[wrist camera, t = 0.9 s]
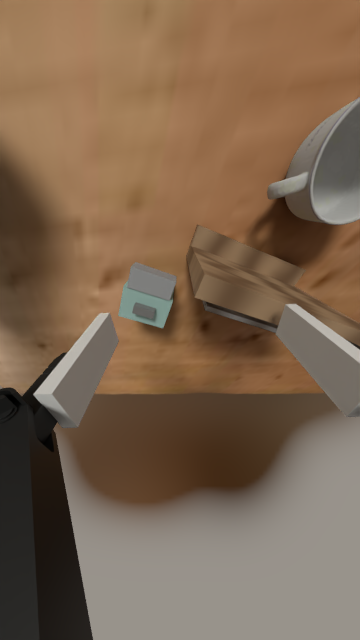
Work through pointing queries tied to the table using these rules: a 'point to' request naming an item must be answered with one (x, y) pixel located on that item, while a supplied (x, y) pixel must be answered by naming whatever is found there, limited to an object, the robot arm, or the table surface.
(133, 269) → the cabinet
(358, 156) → the teacup
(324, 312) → the wall board
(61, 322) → the table surface
